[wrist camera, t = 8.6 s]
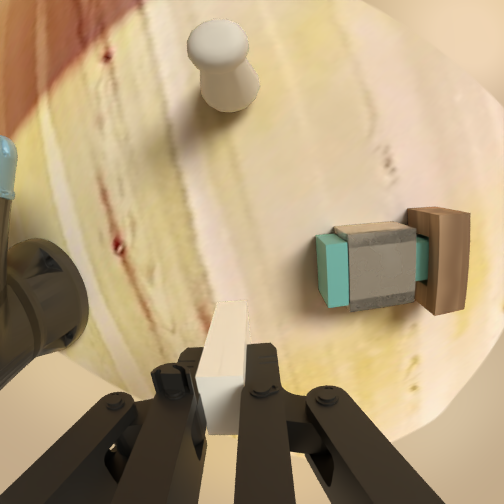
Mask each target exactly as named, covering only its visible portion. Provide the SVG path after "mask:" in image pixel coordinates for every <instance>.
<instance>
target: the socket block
mask: <svg viewBox="0 0 504 504" xmlns="http://www.w3.org/2000/svg"><path fill="white" fill-rule="evenodd" d="M407 212H408V226H410V227H413V228H416V233H419V234H422V235H424V236H427V237H429V261H428V279H426V280H420V281H415V298H414V299H415V300H416V301H417V302H418V303H420V304H421V305H422V306H423V307H425V308H426V309H427V310H428V311H429V312H431V313H432V314H433V315H434V316H437V315H441V314H446V313H450V312H454V311H459V310H463V309H464V307H465V299H466V291H467V280H468V268H469V252H470V213H467V212H462V211H456V210H451V209H446V208H440V207H423V208H408V209H407Z"/></svg>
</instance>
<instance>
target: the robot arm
mask: <svg viewBox="0 0 504 504" xmlns="http://www.w3.org/2000/svg"><path fill="white" fill-rule="evenodd" d="M17 158H18V155H17V149H16V146H15V144H14V143H13V142H12V141H11V140H10V139H9V138H7V137H5V136H2V135H0V390H1V389H2V388H3V387H4V386H5V385H6V384H7V383H8V382H9V381H11V379H13V378H14V377H15V376H16V375H17V374H18V373H19V372H20V371H21V370H22V369H23V368H24V367H25V366H26V365H28V364H29V363H30V362H31V361H32V360H33V359H34V358H35V357H38V356H42V355H45V354H49V353H53V352H56V351H60V350H63V349H65V348H67V347H68V346H70V345H71V344H72V343H73V342H74V341H75V340H77V339H78V338H79V337H80V335H81V334H82V333H83V331H84V329H85V327H86V324H87V320H88V310H89V308H88V298H87V292H86V289H85V285H84V282H83V280H82V277H81V275H80V273H79V271H78V269H77V268H76V266H75V264H74V263H73V262H72V260H71V259H70V258H69V256H68V255H67V254H66V253H65V252H64V251H63V250H62V249H61V248H59V247H58V246H57V245H55V244H54V243H52V242H50V241H47V240H44V239H39V238H34V239H29V240H26V241H23V242H20V243H18V244H16V245H14V246H13V247H11V248H10V249H9V250H8V251H7V248H8V231H9V221H10V212H11V203H12V200H13V199H14V197H15V192H14V181H15V173H16V166H17ZM151 376H152V380H153V383H154V387H155V390H156V395H155V397H154V398H153V399H149V400H144V401H138V402H134V399H133V398H132V396H131V395H130V394H127V393H125V392H114V393H110V394H108V395H105V396H104V397H102V398H101V399H100V400H99V401H98V402H97V403H96V404H95V405H94V406H93V407H92V408H91V409H90V410H89V411H87V412H86V413H85V414H84V415H83V416H82V417H81V418H80V419H79V420H78V421H77V422H76V423H75V424H74V425H73V426H72V427H71V428H70V429H69V430H68V431H67V432H66V433H65V434H64V435H63V436H62V437H60V438H59V439H58V440H57V441H56V442H55V443H54V444H53V445H52V446H51V447H50V448H49V449H48V450H47V451H46V452H45V453H44V454H43V455H42V456H41V457H40V458H39V459H38V460H36V461H35V462H34V463H33V464H32V465H31V466H30V467H29V468H28V469H27V470H26V471H25V472H24V473H23V474H22V475H21V476H20V477H19V478H18V479H17V480H16V481H15V482H14V483H13V484H12V485H10V486H9V487H8V488H7V489H6V490H5V491H4V492H3V493H2V494H1V495H0V504H198V499H199V492H200V486H201V480H202V474H203V467H204V461H205V455H206V449H207V441H206V437H205V431H206V426H207V430H208V434H209V435H238V447H237V463H236V478H235V494H234V504H296V502H295V492H294V483H293V474H292V466H291V457H290V452H297V453H305V457H306V459H307V461H308V462H309V464H310V466H311V468H312V470H313V472H314V473H315V475H316V477H317V479H318V481H319V482H320V484H321V486H322V488H323V489H324V491H325V493H326V495H327V497H328V498H329V500H330V502H331V504H445V503H444V502H443V501H442V500H441V498H440V497H439V496H438V495H437V494H436V493H435V492H434V491H433V490H432V489H431V487H430V486H429V485H428V484H427V483H426V482H425V481H424V480H423V479H422V477H421V476H420V475H419V474H418V473H417V472H416V471H415V470H414V469H413V467H412V466H411V465H410V464H409V463H408V462H407V461H406V460H405V459H404V457H403V456H402V455H401V454H400V453H399V452H398V451H397V450H396V448H395V447H394V446H393V445H392V444H391V443H390V442H389V440H388V439H387V438H386V437H385V436H384V435H383V434H382V433H381V431H380V430H379V429H378V428H377V427H376V426H375V425H374V423H373V422H372V421H371V420H370V419H369V418H368V417H367V415H366V414H365V413H364V412H363V411H362V410H361V408H360V407H359V406H358V405H357V404H356V403H355V402H354V400H353V399H352V398H351V397H350V396H349V395H348V393H347V392H346V391H344V390H343V389H342V388H339V387H336V386H327V385H326V386H320V387H317V388H314V389H312V390H311V391H310V392H309V393H308V394H307V396H300V395H295V394H292V393H289V392H287V391H286V390H284V389H283V387H282V386H281V382H280V374H279V366H278V358H277V350H276V348H275V347H274V346H273V345H272V344H271V343H260V344H251V336H250V326H249V315H248V305H247V300H240V301H225V302H217V305H216V308H215V312H214V315H213V318H212V322H211V325H210V328H209V332H208V335H207V339H206V342H205V345H204V347H197V348H187V349H186V350H185V351H183V352H182V353H181V354H180V357H179V359H178V362H177V363H167V364H164V365H160V366H158V367H157V368H155V369H154V370H153V371H152V372H151ZM113 444H115V447H114V448H113V449H112V450H110V449H109V448H110V447H111V446H112V445H113Z"/></svg>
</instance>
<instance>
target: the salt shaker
mask: <svg viewBox="0 0 504 504" xmlns="http://www.w3.org/2000/svg"><path fill="white" fill-rule="evenodd" d="M248 51H249V43H248V37H247V34H246V32H245V31H244V30H243V29H242V28H241V26H240V25H239V24H238V23H235V22H233V21H230V20H228V19H212V20H209V21H206V22H203V23H201V24H200V25H199V26H197V27H196V28H195V29H194V30H193V31H191V34H190V36H189V38H188V40H187V52H188V57H189V59H190V60H191V61H192V63H193V64H194V65H195V66H196V68H197V69H199V70H200V87H201V96H202V97H203V98H204V100H205V101H206V102H207V104H208V105H209V106H211V107H213V108H215V109H217V110H218V111H220V112H236V111H239V110H242V109H245V108H247V107H248V106H249V105H250V104H251V103H252V102H253V101H254V100H255V99H256V96H257V94H258V91H259V89H260V83H259V77H258V74H257V73H256V71H255V70H254V68H253V67H252V65H251V64H250V63H249V61H248V60H247V58H246V56H247V54H248Z"/></svg>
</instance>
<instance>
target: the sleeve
mask: <svg viewBox="0 0 504 504" xmlns="http://www.w3.org/2000/svg"><path fill="white" fill-rule="evenodd" d="M334 234H335V235H337V236H338V237H340V238H341V239H343V240H344V241H346V242H347V247H348V277H349V305H347V306H346V307H347V309H348V310H349V312H356V311H362V310H369V309H376V308H382V307H388V306H394V305H400V304H406V303H412V302H414V298H415V280H416V228H413V227H410V226H407V225H404V224H400V223H397V222H394V221H390V222H378V223H367V224H355V225H344V226H334Z"/></svg>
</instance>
